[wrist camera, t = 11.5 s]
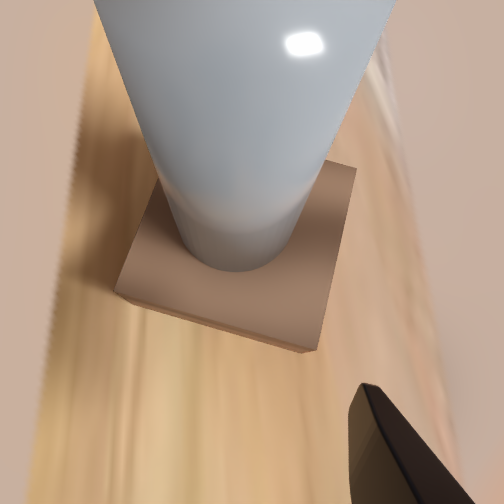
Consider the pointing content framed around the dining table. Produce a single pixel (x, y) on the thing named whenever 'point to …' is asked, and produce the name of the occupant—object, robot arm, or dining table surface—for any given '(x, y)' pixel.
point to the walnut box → (249, 282)
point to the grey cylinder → (240, 108)
